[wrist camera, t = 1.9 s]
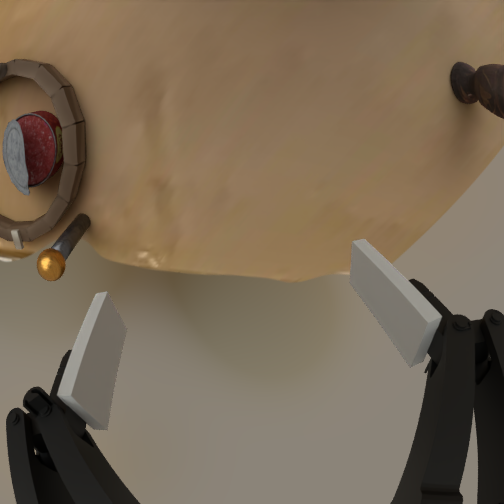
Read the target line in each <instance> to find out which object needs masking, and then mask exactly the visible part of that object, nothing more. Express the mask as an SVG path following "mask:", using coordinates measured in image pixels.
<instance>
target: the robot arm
mask: <svg viewBox="0 0 504 504" xmlns="http://www.w3.org/2000/svg"><path fill="white" fill-rule="evenodd" d="M350 284H351V285H352V287H353V288H354V289H355V291H356V292H357V294H358V295H359V296H360V298H361V299H362V300H363V302H364V303H365V304H366V306H367V307H368V308H369V310H370V311H371V313H372V314H373V315H374V317H375V318H376V319H377V320H378V322H379V324H380V325H381V326H382V328H383V329H384V331H385V332H386V333H387V335H388V336H389V338H390V339H391V341H392V342H393V344H394V345H395V346H396V348H397V349H398V351H399V352H400V354H401V355H402V357H403V358H404V360H405V361H406V363H407V364H408V365H409V367H410V368H411V367H413V366H415V365H417V364H419V363H421V362H423V361H424V359H425V356H426V354H427V353H428V354H429V356H430V357H431V359H430V361H429V363H428V365H427V367H426V369H425V373H427V371H428V375H427V381H426V388H425V393H424V398H423V403H422V408H421V413H420V417H419V422H418V426H417V430H416V433H415V437H414V441H413V444H412V448H411V451H410V454H409V458H408V461H407V464H406V467H405V470H404V473H403V476H402V478H401V481H400V484H399V486H398V489H397V491H396V494H395V496H394V498H393V500H392V502H391V504H462V502H463V496H462V495H461V493H460V492H459V488H460V483H461V480H462V475H463V471H464V467H465V462H466V457H467V452H468V447H469V441H470V433H471V426H472V418H473V408H474V414H475V422H476V433H477V446H478V494H477V504H504V315H503V314H502V313H501V312H499V311H497V310H493V309H490V310H488V311H486V312H485V314H484V317H483V318H482V319H480V320H474V321H470V320H469V319H468V318H467V317H465V316H463V315H453V314H452V313H451V312H450V311H449V310H448V309H447V308H446V307H445V306H444V305H443V304H442V303H441V302H440V301H439V300H438V299H437V298H436V297H434V294H433V293H431V292H430V291H429V289H427V288H426V286H425V285H423V284H422V283H421V282H419V281H417V280H415V279H411V280H407V279H406V278H405V277H404V276H403V275H402V274H401V273H400V272H399V271H398V270H397V269H396V268H395V267H394V266H393V265H392V264H391V263H390V262H389V261H388V260H387V259H386V258H385V257H384V256H382V255H381V254H380V253H379V252H378V251H377V250H376V249H375V248H374V247H373V246H372V245H371V244H370V243H369V242H367V241H366V240H365V239H360V240H355V241H352V253H351V271H350ZM126 332H127V328H126V326H125V324H124V322H123V320H122V319H121V317H120V315H119V313H118V311H117V309H116V307H115V305H114V303H113V302H112V299H111V297H110V295H109V293H108V292H102V293H96V295H95V297H94V299H93V301H92V303H91V306H90V308H89V310H88V312H87V315H86V317H85V319H84V322H83V324H82V327H81V329H80V331H79V334H78V337H77V339H76V341H75V344H74V347H73V349H72V350H68V352H67V353H66V354H65V356H64V357H63V358H62V361H61V364H60V368H59V369H58V372H57V375H56V378H55V381H54V384H53V387H52V390H51V393H50V396H49V395H48V394H47V393H46V392H45V391H44V390H43V389H42V388H40V387H33V388H31V389H30V390H29V391H28V392H27V393H26V395H25V396H24V399H23V406H24V407H25V408H26V409H27V410H28V411H29V412H30V413H27V414H26V413H25V412H24V411H23V410H21V409H20V408H14V409H12V410H11V411H10V412H9V414H8V416H7V419H6V432H7V447H8V457H9V465H10V472H11V478H12V484H13V489H14V494H15V498H16V502H17V504H140V503H139V502H138V500H137V499H136V498H135V497H134V496H133V495H132V493H131V492H130V491H129V490H128V488H127V487H126V486H125V485H124V483H123V482H122V481H121V479H120V478H119V477H118V476H117V474H116V473H115V471H114V470H113V469H112V467H111V466H110V465H109V463H108V462H107V460H106V459H105V457H104V456H103V454H102V453H101V452H100V450H99V448H98V447H97V445H96V443H95V442H94V440H93V439H92V437H91V435H90V434H89V432H88V431H87V430H86V429H85V428H86V423H87V424H88V425H89V426H91V427H92V428H93V429H97V430H107V429H108V423H109V416H110V409H111V403H112V398H113V392H114V387H115V381H116V376H117V371H118V367H119V362H120V357H121V353H122V349H123V344H124V340H125V336H126ZM490 357H491V358H490ZM34 449H35V450H36V455H35V452H34Z"/></svg>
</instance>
